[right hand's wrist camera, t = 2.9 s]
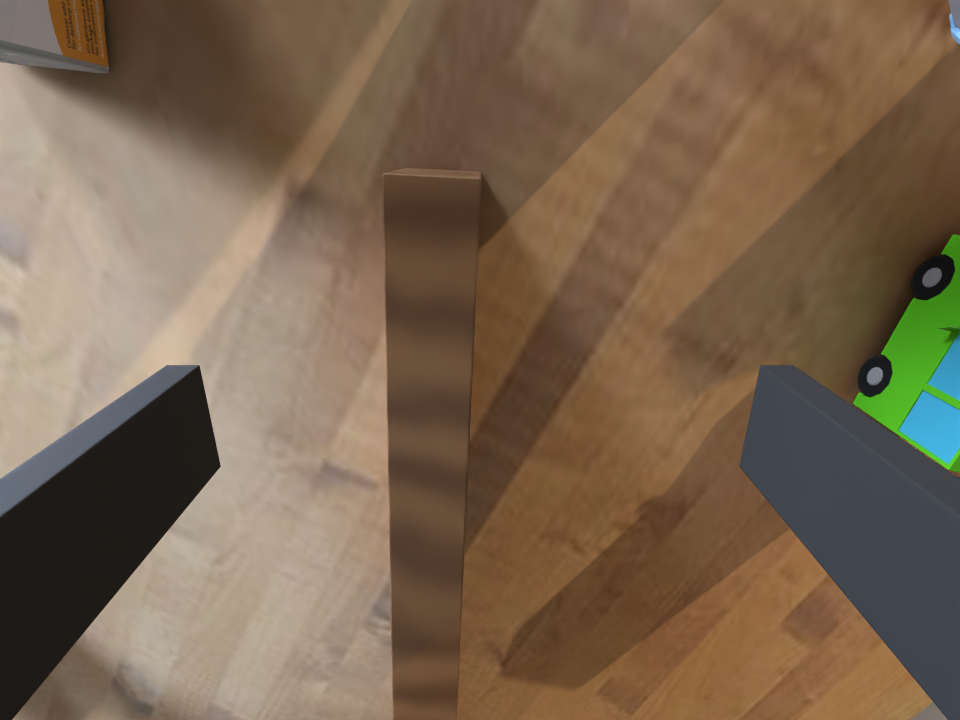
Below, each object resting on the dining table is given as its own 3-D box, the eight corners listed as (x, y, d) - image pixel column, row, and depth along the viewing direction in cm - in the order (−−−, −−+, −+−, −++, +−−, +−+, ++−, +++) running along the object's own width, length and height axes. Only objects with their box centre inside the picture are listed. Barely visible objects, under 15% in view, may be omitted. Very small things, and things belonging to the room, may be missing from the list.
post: (405, 167, 35) (382, 172, 27) (481, 171, 35) (481, 177, 27) (408, 828, 62) (397, 929, 54) (451, 830, 62) (446, 931, 54)
